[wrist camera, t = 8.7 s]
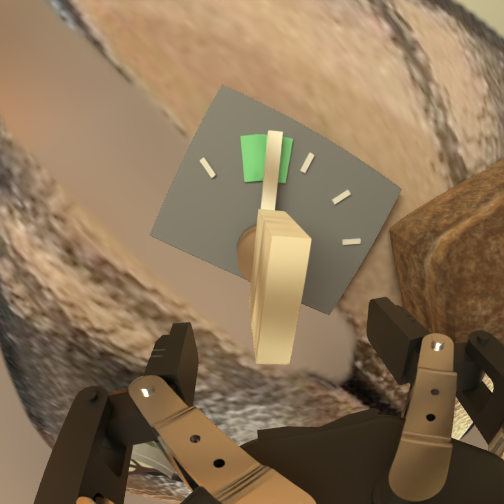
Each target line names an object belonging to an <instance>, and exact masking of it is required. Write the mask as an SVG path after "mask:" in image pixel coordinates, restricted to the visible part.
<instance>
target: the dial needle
mask: <svg viewBox="0 0 504 504" xmlns="http://www.w3.org/2000/svg"><path fill="white" fill-rule="evenodd" d="M282 135H283V132H279V131H271V130H269V131H268V136H267V146H266V156H265V167H264V177H263V187H262V197H261V207H260V209H258V217H257V224H255V225H253V226H250V227H249V228H247V229H246V230H245V231H244V232H243V233H242V234H241V236H240V237H239V240H238V243H237V262H238V267H239V270H240V272H241V274H242V275H243V276H244V278H245V279H247V280H248V281H249V282H251V288H250V298H249V309H250V317H251V325H252V334H253V340H254V350H255V358H256V364H289V363H290V358H291V353H292V348H293V342H294V337H295V333H296V327H297V322H298V317H299V312H300V306H301V301H302V295H303V289H304V283H305V277H306V271H307V265H308V259H309V252H310V246H311V238H310V237H309V236H308V235H307V234H306V233H305V231H304V230H303V229H302V228H301V227H300V226H299V225H298V224H297V223H296V222H295V221H294V220H293V219H292V218H291V217H290V216H289V215H288V214H287V213H286V212H285V211H276V210H275V203H276V194H277V184H278V175H279V165H280V155H281V145H282Z"/></svg>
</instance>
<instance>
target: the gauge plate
mask: <svg viewBox="0 0 504 504" xmlns="http://www.w3.org/2000/svg"><path fill="white" fill-rule="evenodd" d="M269 130H271V131H279V132H283V135H282V145H281V155H280V165H279V175H278V184H277V194H276V203H275V210H276V211H285V212H286V213H287V214H288V215H289V216H290V217H291V218H292V219H293V220H294V221H295V222H296V223H297V224H298V225H299V226H300V227H301V228H302V229H303V230H304V231H305V233H306V234H307V235H308V236H309V237H310V238H311V246H310V252H309V259H308V265H307V271H306V277H305V283H304V289H303V295H302V301H301V303H302V304H304V305H306V306H309V307H311V308H313V309H316V310H318V311H320V312H323V313H325V314H328V315H330V313H331V312H332V310H333V309H334V307H335V306H336V304H337V302H338V301H339V299H340V298H341V296H342V295H343V293H344V291H345V290H346V288H347V287H348V285H349V283H350V282H351V280H352V278H353V277H354V275H355V273H356V272H357V270H358V268H359V267H360V265H361V263H362V262H363V260H364V258H365V257H366V255H367V253H368V251H369V250H370V248H371V246H372V244H373V243H374V241H375V239H376V237H377V235H378V234H379V232H380V230H381V228H382V226H383V224H384V223H385V221H386V219H387V217H388V215H389V213H390V211H391V209H392V207H393V205H394V203H395V202H396V200H397V198H398V196H399V194H400V192H401V190H402V189H401V188H400V187H399V186H397V185H396V184H394V183H393V182H392V181H390V180H389V179H388V178H386V177H385V176H383V175H382V174H380V173H379V172H378V171H376V170H375V169H373V168H372V167H370V166H369V165H367V164H366V163H364V162H363V161H361V160H360V159H358V158H357V157H355V156H354V155H352V154H351V153H349V152H348V151H346V150H344V149H343V148H341V147H340V146H338V145H336V144H335V143H333V142H331V141H330V140H328V139H327V138H325V137H323V136H321V135H320V134H318V133H316V132H315V131H313V130H311V129H309V128H308V127H306V126H304V125H302V124H301V123H299V122H297V121H295V120H293V119H291V118H290V117H288V116H286V115H284V114H282V113H280V112H278V111H276V110H274V109H272V108H270V107H269V106H267V105H265V104H263V103H260V102H258V101H256V100H254V99H252V98H250V97H248V96H246V95H244V94H242V93H239V92H237V91H235V90H233V89H231V88H228V87H226V86H224V85H222V86H221V87H220V89H219V91H218V93H217V95H216V96H215V98H214V100H213V102H212V104H211V105H210V107H209V109H208V111H207V113H206V115H205V117H204V118H203V120H202V122H201V124H200V126H199V128H198V130H197V132H196V134H195V136H194V138H193V140H192V142H191V144H190V146H189V148H188V150H187V152H186V154H185V156H184V158H183V160H182V162H181V164H180V167H179V169H178V171H177V173H176V175H175V177H174V180H173V182H172V184H171V186H170V188H169V191H168V193H167V196H166V198H165V200H164V202H163V204H162V207H161V209H160V212H159V214H158V216H157V219H156V221H155V224H154V226H153V229H152V231H151V233H150V236H152V237H154V238H156V239H159V240H161V241H163V242H165V243H167V244H169V245H171V246H174V247H176V248H178V249H180V250H182V251H184V252H187V253H189V254H191V255H193V256H195V257H197V258H200V259H202V260H204V261H206V262H208V263H211V264H213V265H215V266H217V267H219V268H222V269H224V270H226V271H228V272H231V273H233V274H235V275H237V276H240V277H242V278H244V276H243V275H242V274H241V272H240V270H239V267H238V262H237V243H238V240H239V237H240V236H241V234H242V233H243V232H244V231H245V230H246V229H247V228H249V227H250V226H253V225H255V224H257V217H258V209H260V207H261V197H262V187H263V177H264V167H265V156H266V146H267V136H268V131H269ZM244 279H245V278H244ZM246 280H247V279H246Z"/></svg>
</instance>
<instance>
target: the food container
mask: <svg viewBox="0 0 504 504" xmlns="http://www.w3.org/2000/svg"><path fill="white" fill-rule="evenodd" d="M127 391H129V389H120V390H116V391H114V392H113V393H111V394H110V395H113V394H118V393H123V392H127ZM158 471H161V472H163V473H164V474H166V475H167V476H169V477H170V478H172V474H173V473H175V469H174V468H173V467H172V466H171V464H170V463H169V462H168V461H167V459H166V458H165V457H164V455H163V454H162V453H161V451H160V450H159V449H158V447H157V446H156V445H155V443H154V442H153V441H152V442H147V443H142V444H137V445H133V450H132V455H131V461H130V466H129V472H128V475H131V474H138V473H145V472H158Z"/></svg>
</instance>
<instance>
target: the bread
mask: <svg viewBox="0 0 504 504" xmlns="http://www.w3.org/2000/svg"><path fill="white" fill-rule="evenodd" d="M390 234H391V242H392V249H393V255H394V259H395V264H396V269H397V274H398V280H399V285H400V289H401V294H402V299H403V303H404V307H405V309H406V310H407V311H408V312H409V313H410V314H411V315H412V316H413V317H415V318H416V319H417V321H419V322H420V323H421V324H422V325H423V326H424V327H425V328H426V329H427V330H428V331H429V332H430V333H431V334H433V333H438V334H443V335H446V336H448V337H449V338H450V339H451V340H452V341H453V343H464V342H467V341H468V337H469V334H470V333H471V332H473V331H477V330H481V331H486V332H489V333H491V334H492V335H493V336H494V337H495V338H497V339H498V340H499V341H500V342H501V343H502V344H503V345H504V158H503V159H502V160H500V161H498V162H497V163H495V164H493V165H492V166H490V167H489V168H487V169H486V170H484V171H482V172H481V173H479V174H477V175H475V176H473V177H471V178H469V179H467V180H465V181H463V182H461V183H459V184H457V185H456V186H454V187H453V188H451V189H450V190H448V191H446V192H445V193H443V194H441V195H440V196H438V197H436V198H434V199H433V200H431V201H429V202H428V203H426V204H424V205H423V206H421V207H419V208H418V209H416V210H415V211H413V212H412V213H410V214H409V215H407V216H406V217H404V218H403V219H401V220H400V221H398V222H397V223H396V224H395V225H394V226H393V227H392V228H390Z"/></svg>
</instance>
